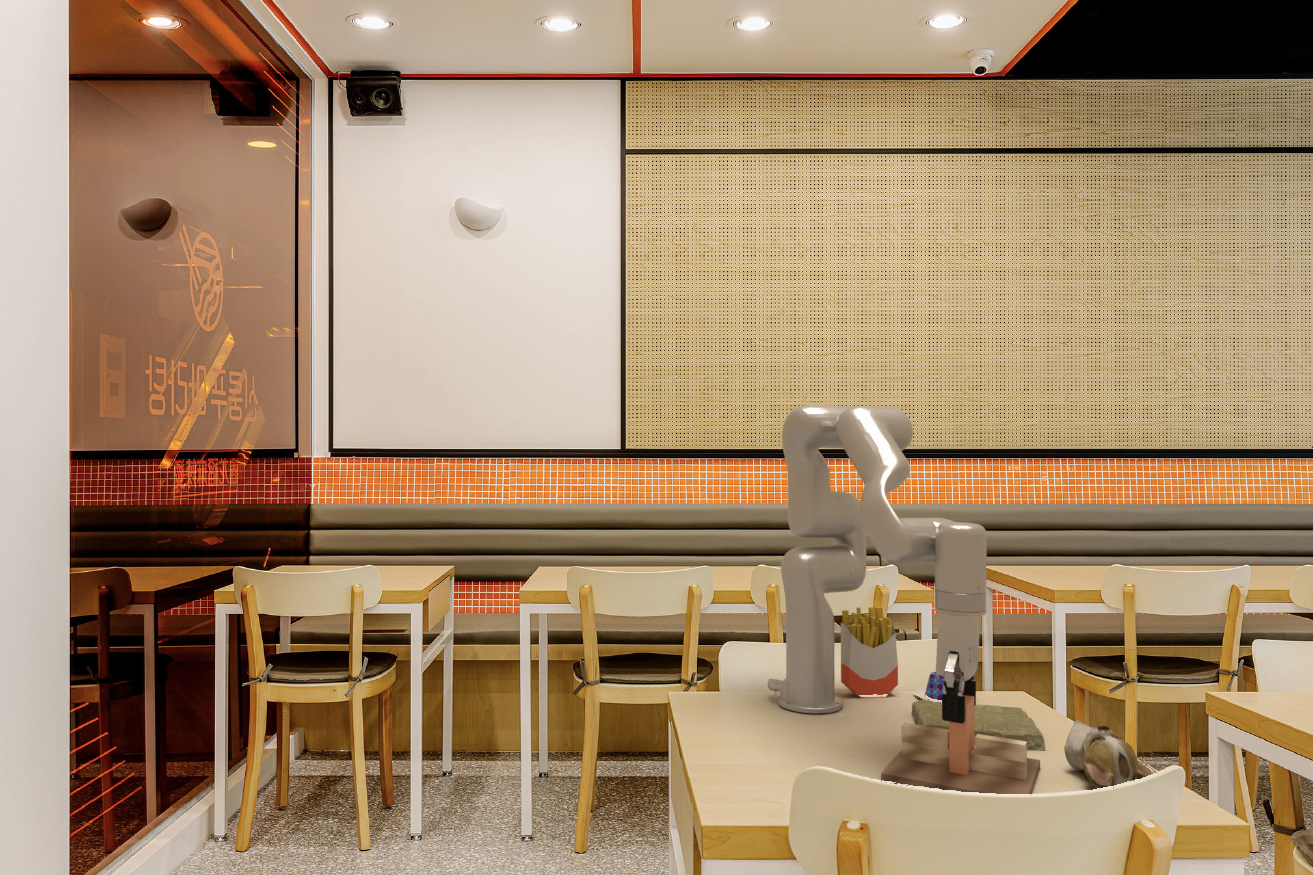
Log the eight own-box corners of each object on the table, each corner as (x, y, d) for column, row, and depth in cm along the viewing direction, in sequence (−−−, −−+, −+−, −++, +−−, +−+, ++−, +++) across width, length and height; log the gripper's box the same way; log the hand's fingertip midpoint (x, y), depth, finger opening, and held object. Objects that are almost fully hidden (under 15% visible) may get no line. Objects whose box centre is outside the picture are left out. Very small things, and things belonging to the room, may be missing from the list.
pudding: (981, 697, 172) (981, 672, 172) (968, 711, 161) (968, 684, 162) (923, 689, 178) (922, 664, 178) (907, 701, 168) (907, 675, 168)
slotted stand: (881, 781, 123) (880, 739, 123) (910, 745, 139) (910, 708, 140) (1026, 809, 113) (1026, 763, 113) (1040, 767, 129) (1039, 727, 130)
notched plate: (949, 771, 124) (948, 704, 124) (958, 757, 130) (957, 694, 130) (967, 774, 123) (966, 706, 123) (974, 760, 129) (974, 696, 129)
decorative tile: (911, 715, 159) (911, 696, 159) (1022, 722, 155) (1022, 703, 155) (922, 746, 141) (921, 725, 141) (1048, 755, 137) (1048, 733, 137)
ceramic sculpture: (1107, 708, 131) (1175, 745, 116) (1107, 762, 132) (1175, 805, 117) (1044, 710, 130) (1105, 747, 115) (1044, 765, 130) (1104, 809, 116)
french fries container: (898, 697, 170) (898, 609, 171) (849, 699, 168) (849, 610, 169) (888, 691, 175) (888, 606, 176) (840, 693, 173) (840, 607, 174)
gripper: (946, 592, 137) (945, 695, 136) (923, 608, 122) (922, 723, 122) (994, 596, 133) (993, 703, 133) (976, 613, 118) (975, 733, 118)
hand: (959, 713), depth 127 cm, fingers open, 9 cm apart
